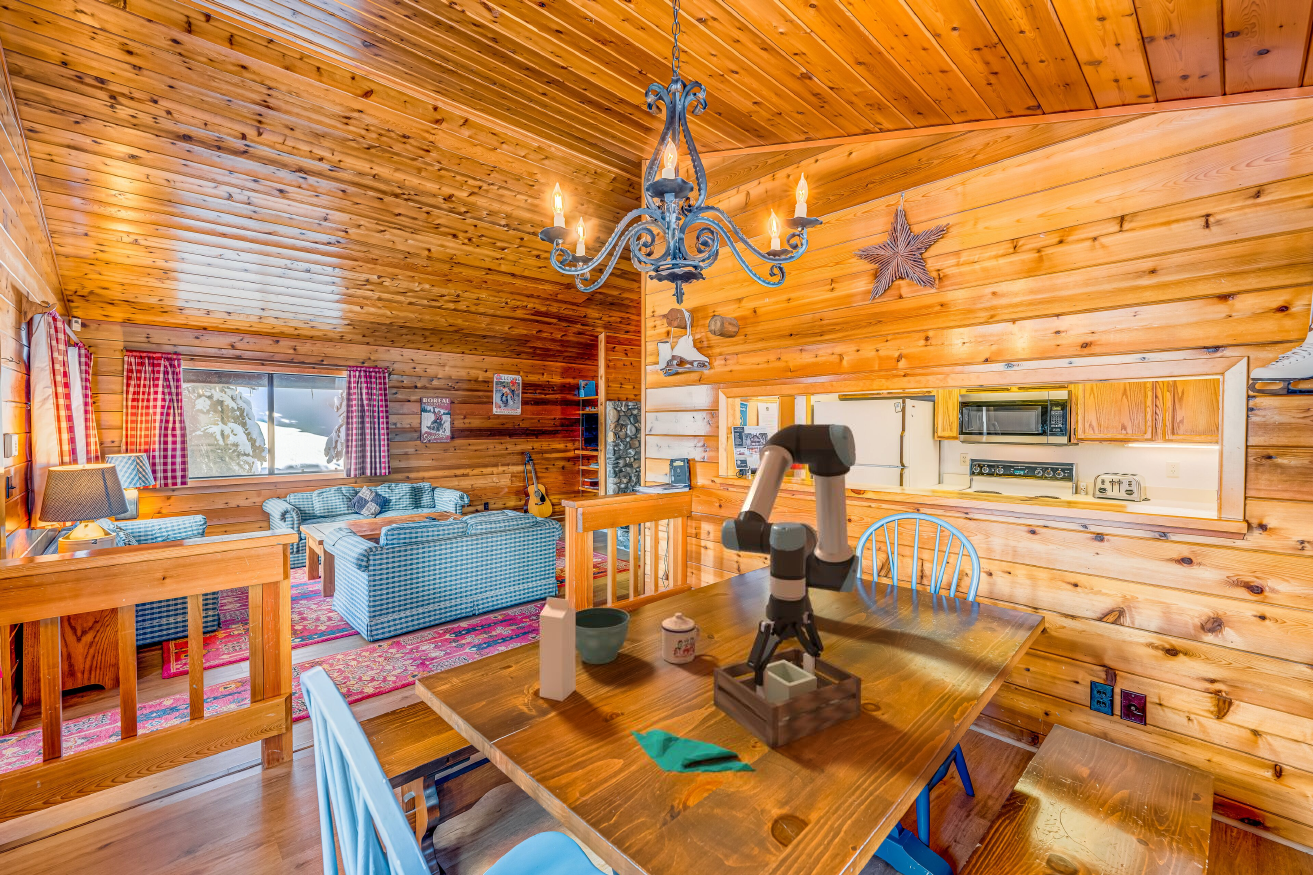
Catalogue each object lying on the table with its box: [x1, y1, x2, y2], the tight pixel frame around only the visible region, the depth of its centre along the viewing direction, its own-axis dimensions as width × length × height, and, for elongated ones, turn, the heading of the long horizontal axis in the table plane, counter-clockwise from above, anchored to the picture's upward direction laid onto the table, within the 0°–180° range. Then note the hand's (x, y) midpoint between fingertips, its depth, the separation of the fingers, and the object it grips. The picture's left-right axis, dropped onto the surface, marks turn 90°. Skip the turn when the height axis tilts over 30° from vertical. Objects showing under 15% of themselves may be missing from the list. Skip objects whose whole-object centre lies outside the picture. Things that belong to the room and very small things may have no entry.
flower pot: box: [575, 606, 630, 665], centre depth 144 cm, size 16×16×11 cm
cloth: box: [630, 728, 757, 774], centre depth 103 cm, size 26×14×2 cm, turn 50°
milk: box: [539, 596, 576, 702], centre depth 124 cm, size 6×6×22 cm
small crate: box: [765, 660, 817, 719], centre depth 118 cm, size 8×10×7 cm
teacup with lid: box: [661, 612, 702, 665], centre depth 145 cm, size 12×9×12 cm
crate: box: [713, 645, 862, 750], centre depth 118 cm, size 25×19×8 cm
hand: (786, 691), depth 118 cm, fingers open, 13 cm apart
